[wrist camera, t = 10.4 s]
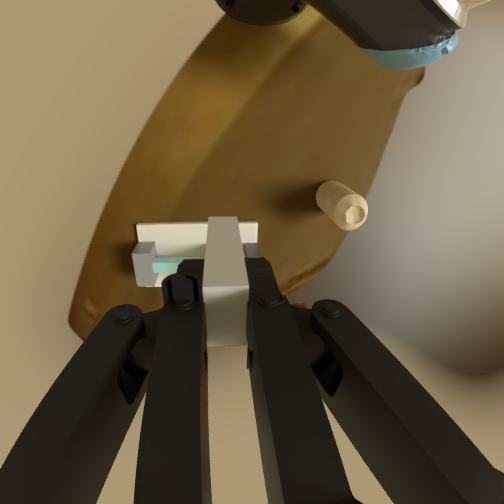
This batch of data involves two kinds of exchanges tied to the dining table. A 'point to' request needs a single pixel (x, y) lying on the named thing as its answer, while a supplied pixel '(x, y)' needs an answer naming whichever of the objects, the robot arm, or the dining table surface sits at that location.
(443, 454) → the robot arm
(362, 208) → the candle
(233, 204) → the dining table surface
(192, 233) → the block slider assembly
